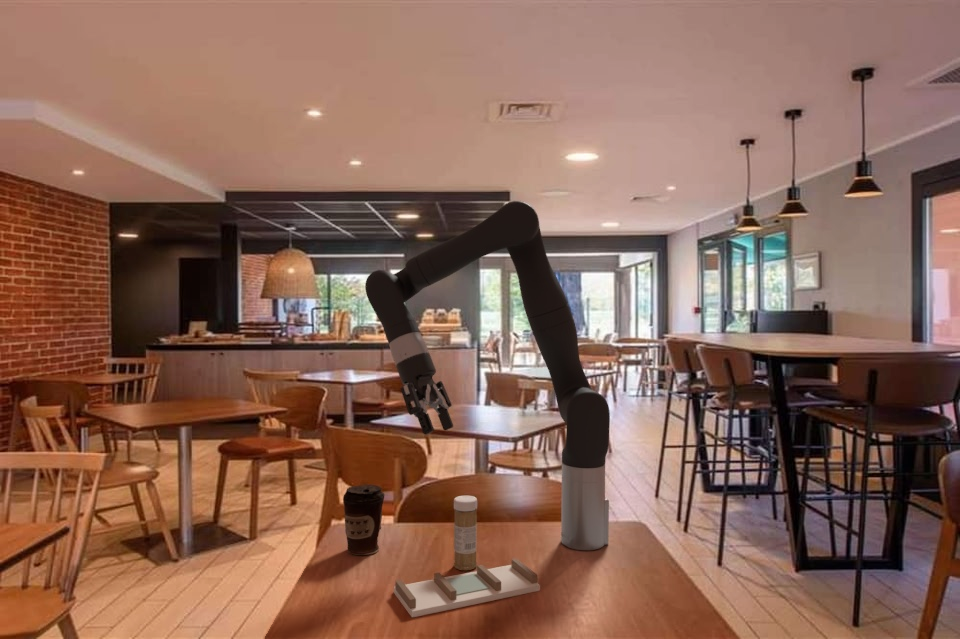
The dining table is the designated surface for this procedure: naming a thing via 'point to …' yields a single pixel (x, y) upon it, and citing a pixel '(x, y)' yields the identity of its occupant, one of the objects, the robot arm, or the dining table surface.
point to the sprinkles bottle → (465, 532)
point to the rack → (466, 588)
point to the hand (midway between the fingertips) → (439, 430)
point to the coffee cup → (363, 518)
